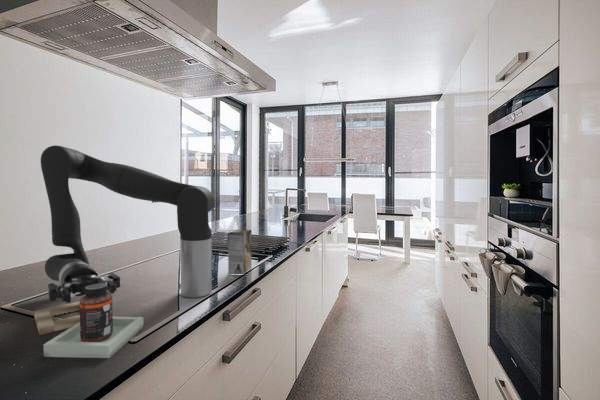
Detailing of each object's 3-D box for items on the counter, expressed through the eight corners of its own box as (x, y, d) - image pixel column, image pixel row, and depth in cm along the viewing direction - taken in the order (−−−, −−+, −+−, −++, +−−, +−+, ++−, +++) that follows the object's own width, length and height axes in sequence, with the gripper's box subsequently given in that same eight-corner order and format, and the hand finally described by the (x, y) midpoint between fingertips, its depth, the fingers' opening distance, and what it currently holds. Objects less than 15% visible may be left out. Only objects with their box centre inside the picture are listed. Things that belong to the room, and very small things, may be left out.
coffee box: (236, 268, 125) (236, 229, 124) (251, 269, 124) (252, 229, 123) (227, 275, 116) (227, 232, 115) (244, 276, 115) (244, 233, 114)
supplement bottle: (117, 337, 68) (116, 285, 67) (84, 347, 63) (83, 292, 63) (108, 328, 72) (107, 279, 71) (76, 337, 67) (75, 286, 67)
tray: (89, 326, 74) (89, 316, 74) (143, 327, 74) (143, 317, 74) (43, 356, 61) (43, 344, 61) (109, 358, 61) (109, 345, 61)
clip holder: (34, 316, 79) (34, 311, 79) (94, 303, 88) (94, 298, 88) (39, 335, 69) (39, 328, 69) (106, 318, 79) (106, 312, 78)
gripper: (43, 268, 77) (51, 284, 66) (108, 259, 87) (125, 271, 76) (44, 298, 78) (52, 319, 66) (108, 285, 88) (126, 301, 76)
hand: (91, 293), depth 71 cm, fingers open, 8 cm apart
